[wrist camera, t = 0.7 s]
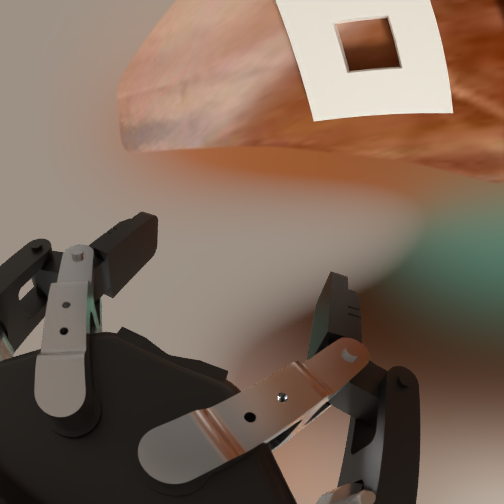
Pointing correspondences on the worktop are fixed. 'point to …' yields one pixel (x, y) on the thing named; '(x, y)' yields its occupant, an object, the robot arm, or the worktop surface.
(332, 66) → the socket board
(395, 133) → the worktop surface
